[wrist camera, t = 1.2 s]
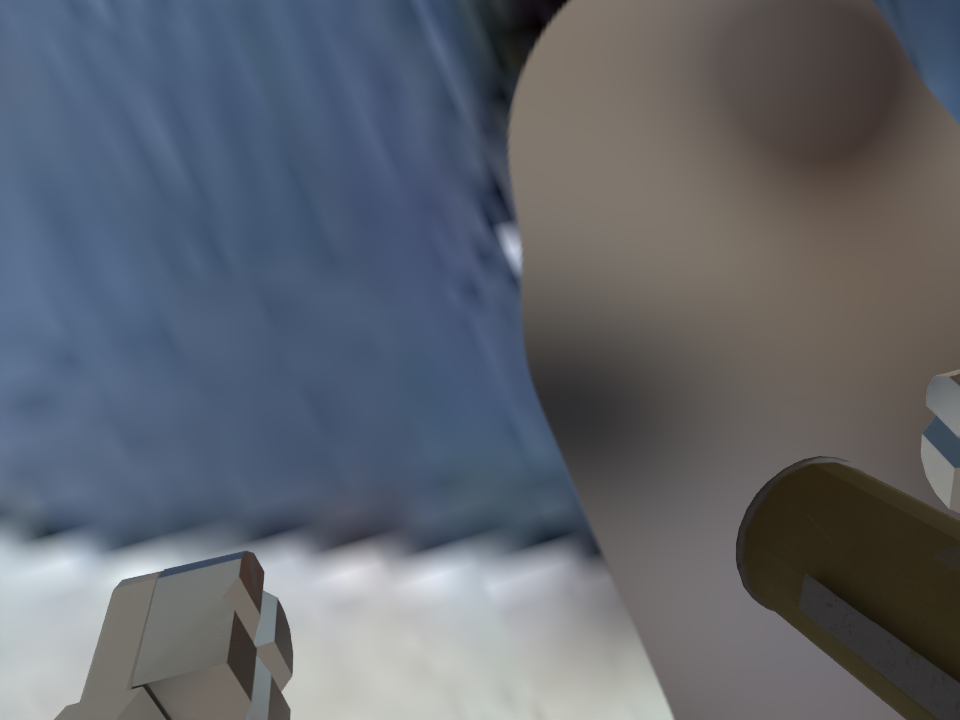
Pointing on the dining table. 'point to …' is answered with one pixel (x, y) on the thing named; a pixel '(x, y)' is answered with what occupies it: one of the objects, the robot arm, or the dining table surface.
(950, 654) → the canister
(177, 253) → the dining table surface
